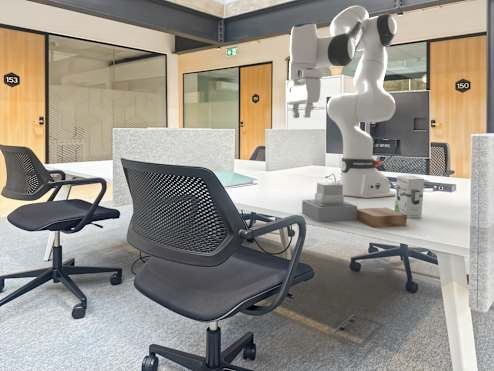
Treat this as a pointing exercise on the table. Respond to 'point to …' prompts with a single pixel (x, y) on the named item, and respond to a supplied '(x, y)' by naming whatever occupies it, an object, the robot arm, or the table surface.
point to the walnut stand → (381, 217)
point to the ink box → (409, 195)
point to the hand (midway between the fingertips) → (301, 117)
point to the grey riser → (329, 211)
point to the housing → (329, 193)
